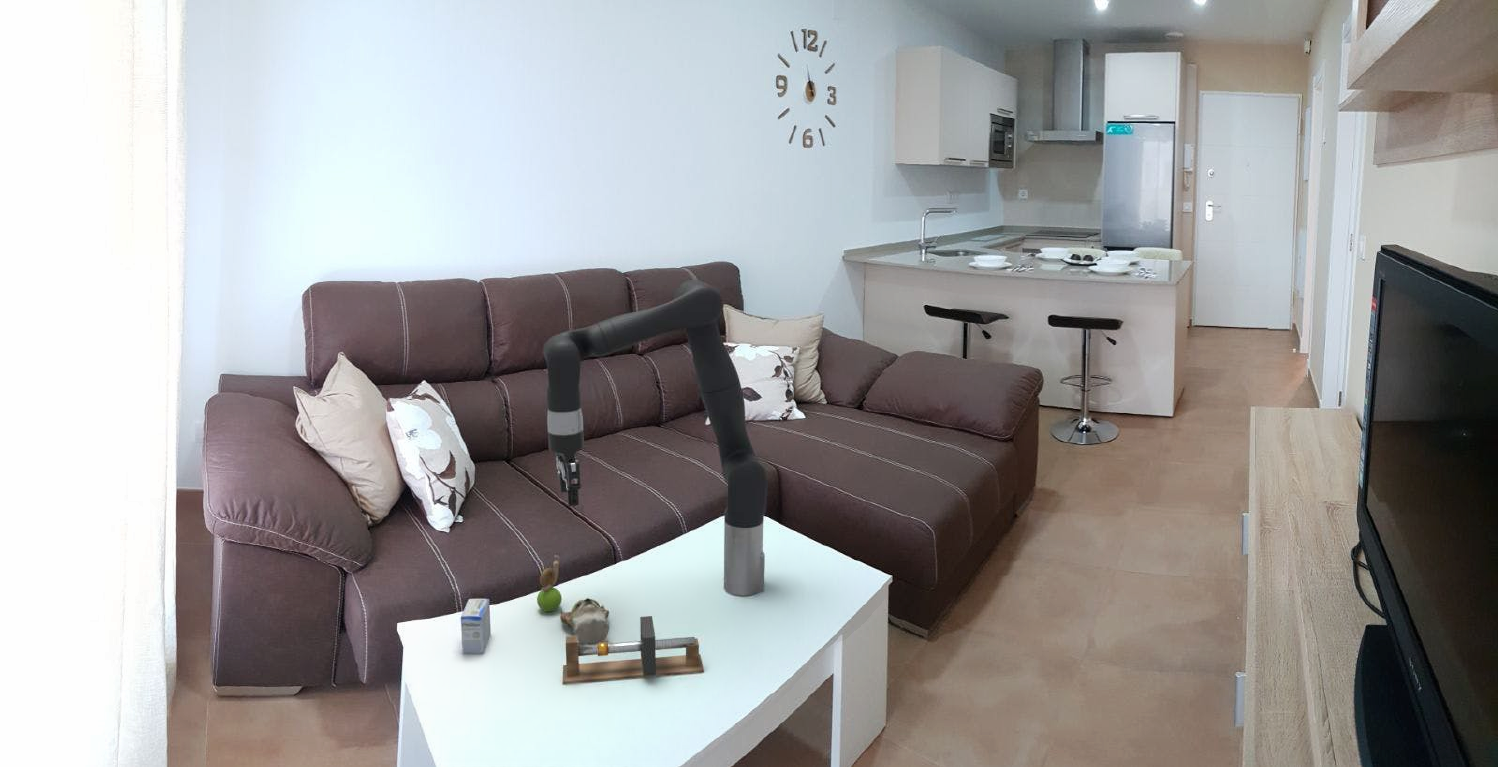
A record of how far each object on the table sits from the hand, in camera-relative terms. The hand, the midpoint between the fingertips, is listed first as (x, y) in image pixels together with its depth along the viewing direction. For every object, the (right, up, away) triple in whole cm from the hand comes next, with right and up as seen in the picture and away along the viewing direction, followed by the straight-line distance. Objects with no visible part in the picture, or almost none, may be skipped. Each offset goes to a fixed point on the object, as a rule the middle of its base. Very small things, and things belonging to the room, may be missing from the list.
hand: (569, 498), depth 207 cm
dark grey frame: (+19, -32, -16) cm, 40 cm away
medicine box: (-18, -30, -8) cm, 36 cm away
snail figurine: (-6, -26, +7) cm, 28 cm away
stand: (+16, -33, -17) cm, 40 cm away
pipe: (+16, -29, -18) cm, 38 cm away
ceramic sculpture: (+5, -29, -3) cm, 30 cm away
